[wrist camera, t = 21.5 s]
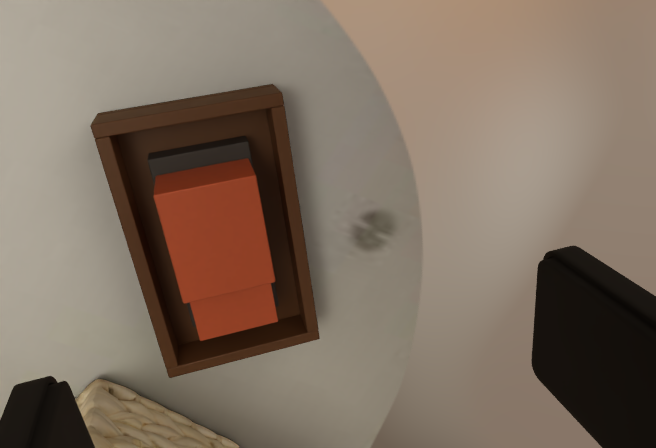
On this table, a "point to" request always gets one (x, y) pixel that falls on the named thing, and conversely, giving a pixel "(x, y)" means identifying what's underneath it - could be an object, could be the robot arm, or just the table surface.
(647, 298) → the robot arm
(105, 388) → the basket
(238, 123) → the tray
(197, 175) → the shoe
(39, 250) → the table surface
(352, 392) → the table surface
